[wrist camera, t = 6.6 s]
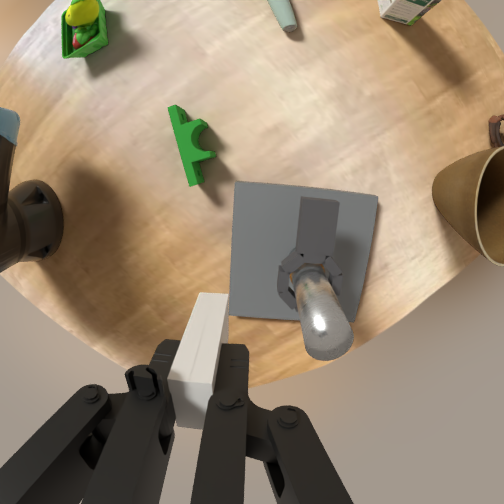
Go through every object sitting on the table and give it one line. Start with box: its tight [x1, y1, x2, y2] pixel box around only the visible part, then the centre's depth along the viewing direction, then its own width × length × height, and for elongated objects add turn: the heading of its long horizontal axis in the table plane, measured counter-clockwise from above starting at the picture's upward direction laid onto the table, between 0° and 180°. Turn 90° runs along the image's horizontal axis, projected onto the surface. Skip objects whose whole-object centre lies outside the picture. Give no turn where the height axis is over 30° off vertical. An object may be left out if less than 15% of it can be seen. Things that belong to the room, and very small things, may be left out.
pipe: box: [289, 248, 354, 361], centre depth 31 cm, size 4×4×20 cm
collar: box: [277, 196, 343, 312], centre depth 33 cm, size 7×13×2 cm, turn 176°
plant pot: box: [432, 146, 504, 267], centre depth 31 cm, size 15×15×16 cm
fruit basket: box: [61, 0, 108, 59], centre depth 27 cm, size 11×9×11 cm
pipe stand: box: [229, 181, 378, 322], centre depth 42 cm, size 20×20×2 cm
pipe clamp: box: [168, 105, 216, 187], centre depth 36 cm, size 11×4×5 cm, turn 15°
